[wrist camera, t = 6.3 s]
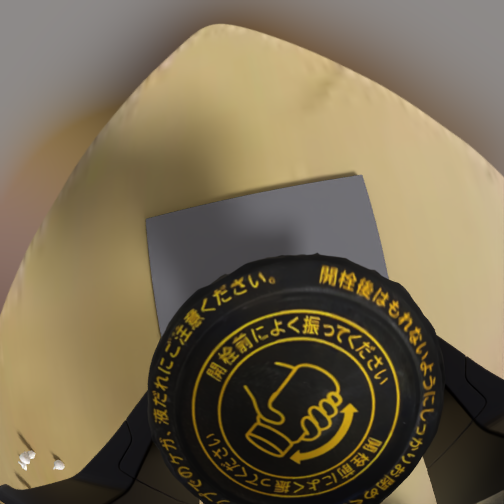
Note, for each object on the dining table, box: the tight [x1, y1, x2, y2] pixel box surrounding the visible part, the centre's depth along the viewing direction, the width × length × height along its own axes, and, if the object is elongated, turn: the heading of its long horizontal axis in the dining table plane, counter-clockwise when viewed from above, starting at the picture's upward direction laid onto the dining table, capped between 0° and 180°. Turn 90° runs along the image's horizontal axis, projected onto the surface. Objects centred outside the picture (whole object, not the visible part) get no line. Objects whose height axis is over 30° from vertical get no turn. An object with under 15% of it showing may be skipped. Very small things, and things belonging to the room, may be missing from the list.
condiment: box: [147, 253, 446, 504], centre depth 9 cm, size 7×8×12 cm
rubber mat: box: [146, 175, 389, 337], centre depth 21 cm, size 22×18×1 cm
